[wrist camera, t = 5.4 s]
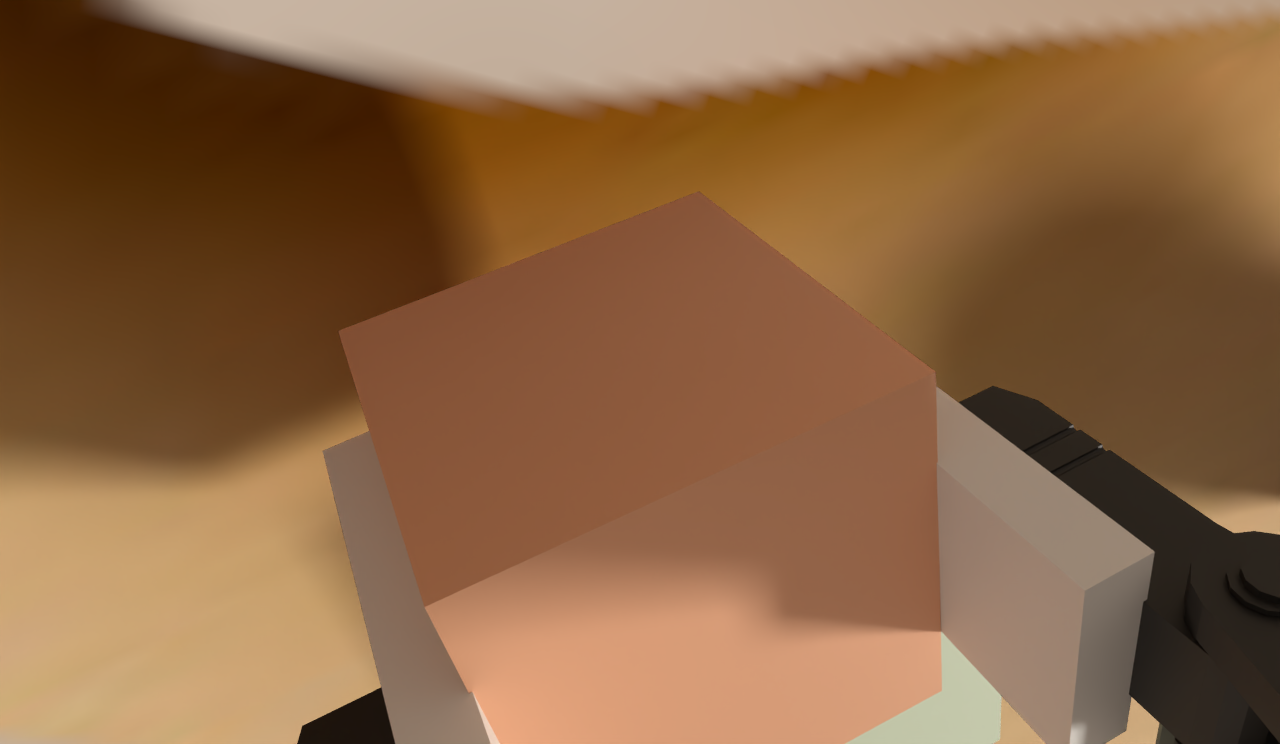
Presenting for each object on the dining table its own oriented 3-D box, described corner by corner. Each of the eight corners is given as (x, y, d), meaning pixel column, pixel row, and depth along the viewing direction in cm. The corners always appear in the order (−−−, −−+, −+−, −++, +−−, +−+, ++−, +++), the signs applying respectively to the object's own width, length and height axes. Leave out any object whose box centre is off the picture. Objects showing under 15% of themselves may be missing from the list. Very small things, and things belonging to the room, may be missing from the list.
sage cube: (841, 434, 21) (1004, 582, 17) (857, 583, 24) (999, 739, 20) (638, 535, 20) (762, 719, 16) (681, 679, 22) (795, 864, 19)
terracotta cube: (698, 191, 13) (935, 372, 9) (747, 464, 16) (942, 691, 12) (338, 330, 12) (424, 606, 8) (463, 595, 15) (572, 892, 11)
